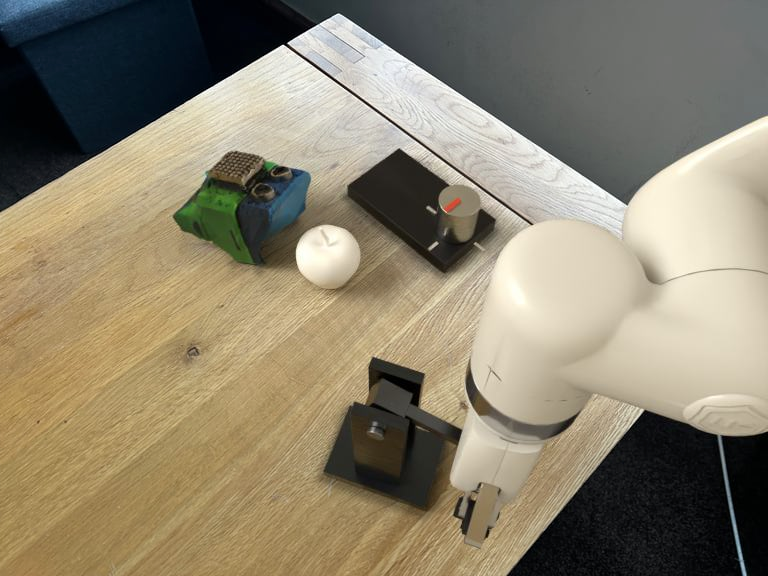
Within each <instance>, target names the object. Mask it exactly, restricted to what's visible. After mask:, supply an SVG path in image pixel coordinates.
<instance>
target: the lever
mask: <svg viewBox="0 0 768 576" xmlns="http://www.w3.org/2000/svg"><path fill="white" fill-rule="evenodd" d="M412 396H413V393H411V392H409V391H407V390H405V389H403V388H401V387H399V386H397V385H395V384H393V383H391V382H389V381H387V380H385V379H383V378H382V379H381V380H379V381H378V382H377V383H376V384H374V385H373V386H372V387H371V390H370V393H369V392H368V395H367V398H366V400H365V403H364V405H367V406H370V407H373V408H376V409H379V410H382V411H385V412H388V413H391V414H394V415H397V416H400V417H403V418H406V419H409V422H410V423H412V424H414V425H416V426H417V427H418V428H420V429H422V430H424V431H427V432H430V433H433V434H435V435H437V436H439V437H441V438H443V439H445V440H446V442H449V443H451V444H453V445H455V446H457V447H458V444H459V441H460V437H461V434H462V430H463V428H460V427H457V426H456V425H454V424H452V423H450V422H448V421H447V420H444V419H442V418H440V417H438V416H436V415H434V414H432V413H430V412H428V411H426V410H424V409H422V408H421V407H420V408H418V407H416V406H414V405H412V404H410V401H411V399H412Z"/></svg>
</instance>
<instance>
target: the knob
mask: <svg viewBox="0 0 768 576" xmlns="http://www.w3.org/2000/svg"><path fill="white" fill-rule="evenodd" d="M481 202H482V201H481V197H480V195H479V193H478V192H477V191H476V190H475V189H473V188H472V187H470V186H468V185H465V184H452V185H450V186H449V187H447V188H445V189H444V190H443V191H442V192H441V193H440V195H439V200H438V208H437V216H436V224H435V230H436V233H437V235H438V236H439V237H440V238H441V239H442V240H443V241H445V242H447V243H451V244H462V243H465V242H467V241H469V240H470V239H471V238H472V237H473V235H474V233H475V228H476V223H477V219H478V214H479V209H480V207H481Z"/></svg>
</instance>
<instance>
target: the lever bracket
mask: <svg viewBox="0 0 768 576" xmlns="http://www.w3.org/2000/svg"><path fill="white" fill-rule="evenodd" d="M367 372H368V373H367V374H368V375H367V376H368V394H369V393H370V390H371V387H372V386H373V385H374V384H376V383H377V382H378V381H379V380H381V379H382V378H383V379H385V380H387V381H389V382H391V383H393V384H395V385H397V386H399V387H401V388H403V389H405V390H407V391H409V392H411V393H413V396H412V399H411V401H410V404H412V405H414V406H416V407H418V408H420V409H421V406H422V399H423V392H424V385H425V379H426V373H424V372H422V371H419V370H416V369H412V368H410V367H406V366H403V365H400V364H397V363H394V362H391V361H388V360H385V359H381V358H378V357H375V356H372V357H371V358H370V361H369V363H368V366H367ZM446 442H447V440H445V439H443V438H441V437H439V436H437V435H435V434H433V433H431V432H429V431H427V430H425V429H422V428H420V427H418V426H416V425H414V424H412V423H410V422H409V419H406V418H403V417H400V416H397V415H394V414H391V413H388V412H385V411H382V410H379V409H376V408H373V407H370V406H367V405H365V403H364V404H363V403H361V402H358V401H353V404H352V405H349V407H348V408H347V412H346V413H345V416H344V419H343V421H342V424H341V426H340V428H339V431H338V434H337V436H336V439H335V441H334V443H333V446H332V449H331V451H330V453H329V456H328V459H327V461H326V463H325V466H324V468H323V470H322V472H323V475H324V476H325V477H328V478H331V479H334V480H337V481H339V482H342V483H346V484H348V485H351V486H353V487H357V488H359V489H361V490H365V491H368V492H370V493H373V494H376V495H379V496H381V497H383V498H384V497H385V498H387V499H389V500H393V501H396V502H398V503H400V504H404V505H407V506H409V507H412V508H414V509H418V510H421V511H425V510H426V506H427V503H428V500H429V496H430V493H431V491H432V487H433V483H434V480H435V478H436V474H437V471H438V469H439V464H440V461H441V458H442V455H443V451H444V448H445V446H446Z"/></svg>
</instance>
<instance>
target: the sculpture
mask: <svg viewBox="0 0 768 576" xmlns="http://www.w3.org/2000/svg"><path fill="white" fill-rule="evenodd" d="M204 174H205V176H206V177H205V178H204V181H203V182H202V184H201V186H200V187H199V188H198V189H197V190H196V191H195V192H194V193H193V194H192V196H190V198H188V200H187V201H186V202H185V203H184V204H183V205H182V206H181V207H180V208H179V209H177V210H176V211H175V213H174V214H173V215H172V219H173V220H174V221H175V223H176V224H177V226H178V227H179V229H180V231H181V232H184V233H187V234H191V235H192V236H194V237H196V238H197V239H199V240H201V241H202V242H203V243H209V244H211V245H213V246H217V247H219V248H220V249H221V250H222V251H224V252H225V253H227V254H228V255H230V257H232V259H233V260H234V262H236V263H246V264H252V265H260V266H261V265H263V266H266V265H268V264H267V263H266V261H265V259H264V257H263V256H262V253H261V252H260V250H261V248H262V246H263V244H264V243H265V242H266V241H268V239H270V238H272V237H273V236H274V235H277V234H278V233H279V232H281V231H282V230H284V229H285V228H286V227H288V226H289V225H291V224H293V222H295V221H297V220H298V219H299V218H300V216H301V215H302V214H303V213H304V212H305V211H306V210H307V204H306V201H307V200H306V198H307V194H308V191H309V187H310V184H311V181H312V176H311V174H310V173H309V171H306V170H304V169H299V168H295V167H289V166H286V165H280V164H278V163H276V162H274V161H268V160H266V159H265V157H264V156H260V155H259V154H255V153H248V152H245V151H238V150H234V151H233V150H229V151H228V152H226V153H225V154H224V155H222V157H221V158H220V159H219V160H218V161H217V162H216V163H215V164H214V165H213V166H212V167H211V168H210V169H208V170H206V171H205V172H204Z"/></svg>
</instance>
